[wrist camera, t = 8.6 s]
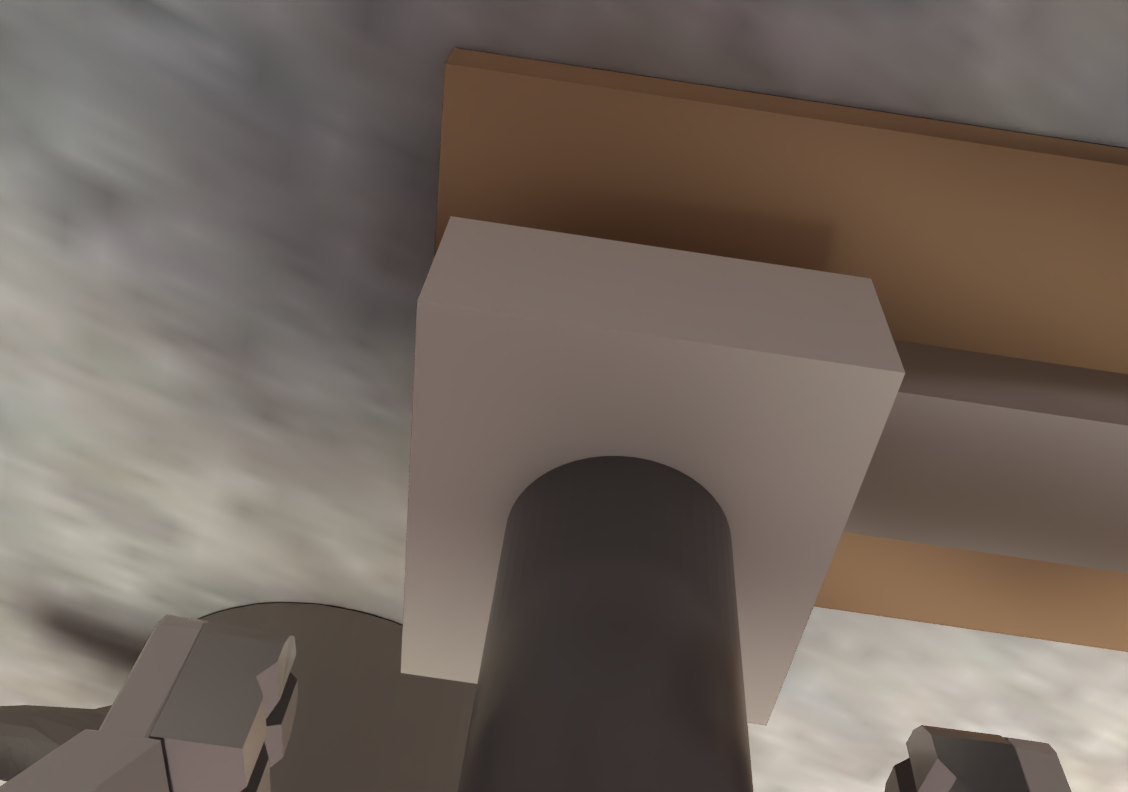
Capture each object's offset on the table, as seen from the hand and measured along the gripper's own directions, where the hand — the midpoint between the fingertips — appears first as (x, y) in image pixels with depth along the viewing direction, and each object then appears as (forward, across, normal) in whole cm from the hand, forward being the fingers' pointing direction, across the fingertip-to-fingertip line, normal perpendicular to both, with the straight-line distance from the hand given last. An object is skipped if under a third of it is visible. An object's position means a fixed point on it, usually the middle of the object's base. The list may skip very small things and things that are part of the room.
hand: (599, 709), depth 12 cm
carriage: (+5, 0, 0) cm, 5 cm away
